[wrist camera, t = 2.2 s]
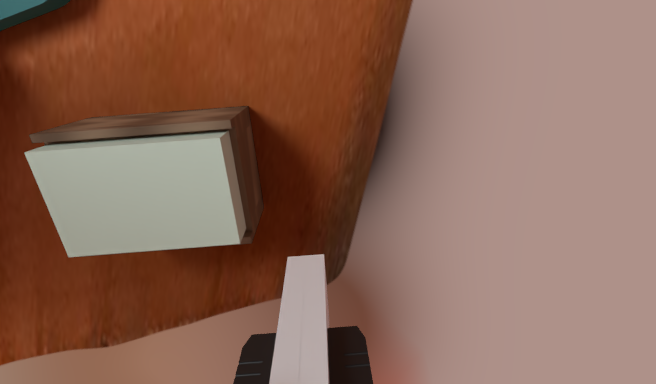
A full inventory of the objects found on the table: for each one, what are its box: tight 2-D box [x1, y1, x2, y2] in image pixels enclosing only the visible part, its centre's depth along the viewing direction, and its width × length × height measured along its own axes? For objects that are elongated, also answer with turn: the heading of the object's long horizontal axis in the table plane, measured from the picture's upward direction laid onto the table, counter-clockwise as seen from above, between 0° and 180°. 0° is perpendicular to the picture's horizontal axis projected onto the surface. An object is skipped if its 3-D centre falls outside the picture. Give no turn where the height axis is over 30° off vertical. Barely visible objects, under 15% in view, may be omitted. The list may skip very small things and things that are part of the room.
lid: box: [24, 130, 246, 257], centre depth 25 cm, size 13×8×2 cm, turn 94°
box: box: [29, 106, 264, 257], centre depth 28 cm, size 14×10×7 cm
